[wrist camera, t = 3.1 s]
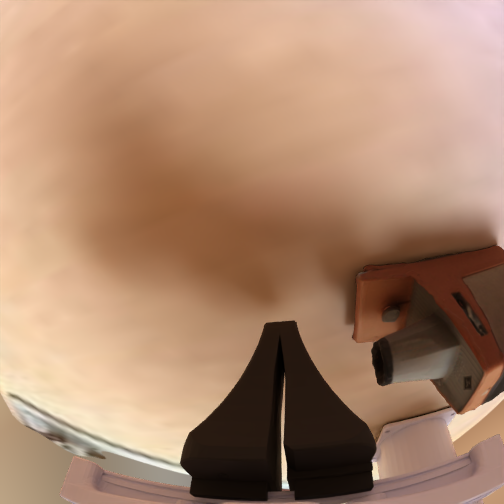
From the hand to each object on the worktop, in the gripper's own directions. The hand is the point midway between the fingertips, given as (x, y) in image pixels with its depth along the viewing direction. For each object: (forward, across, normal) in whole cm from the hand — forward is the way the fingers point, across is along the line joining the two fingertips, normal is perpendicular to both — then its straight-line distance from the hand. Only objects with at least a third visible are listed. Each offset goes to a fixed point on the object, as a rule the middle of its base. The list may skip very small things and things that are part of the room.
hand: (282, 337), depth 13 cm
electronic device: (+3, -8, 0) cm, 9 cm away
